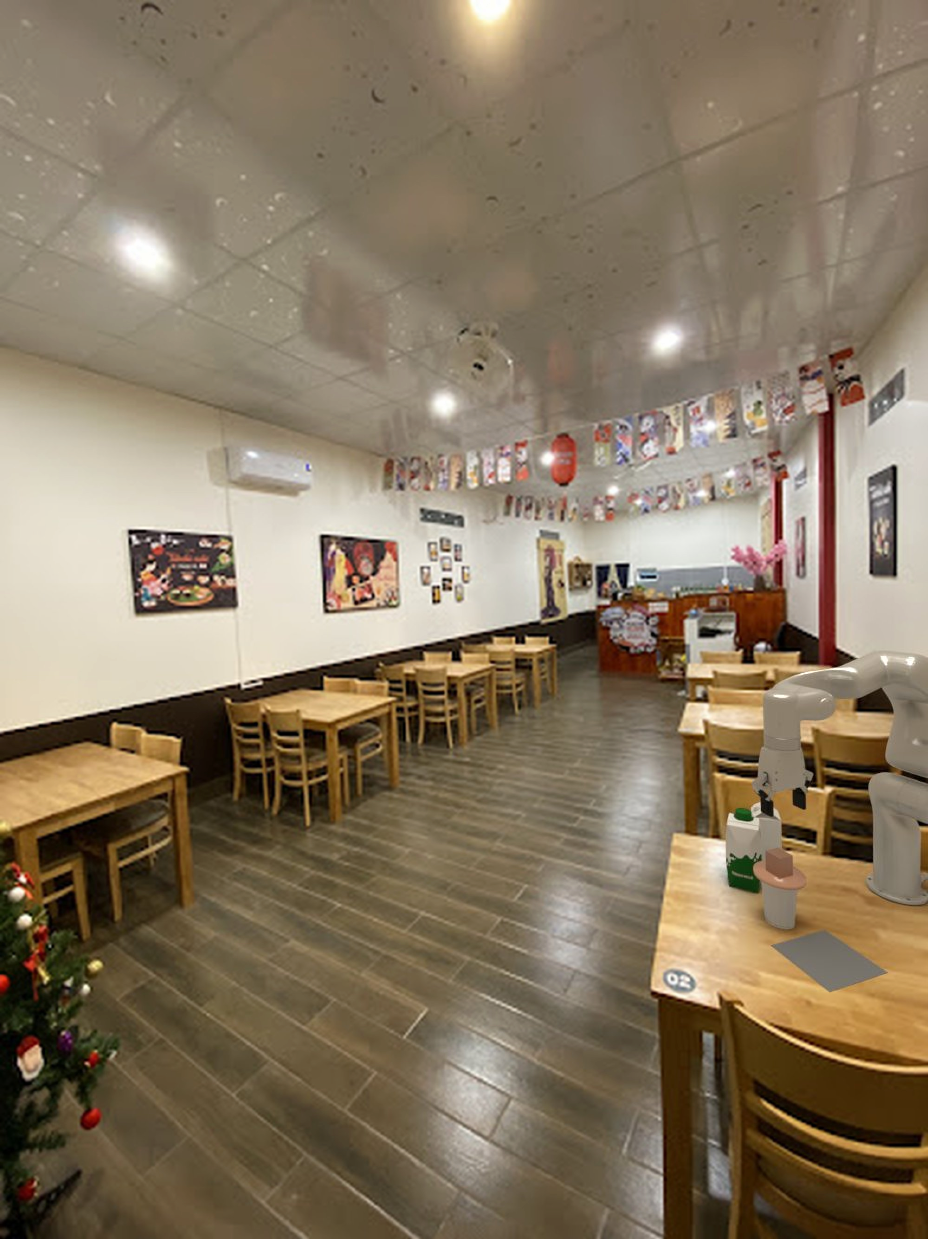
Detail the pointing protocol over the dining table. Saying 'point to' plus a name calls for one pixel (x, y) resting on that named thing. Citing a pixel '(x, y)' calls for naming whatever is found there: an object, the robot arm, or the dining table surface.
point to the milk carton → (768, 829)
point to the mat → (828, 960)
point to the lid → (779, 871)
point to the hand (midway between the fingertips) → (783, 811)
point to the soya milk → (743, 849)
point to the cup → (779, 906)
